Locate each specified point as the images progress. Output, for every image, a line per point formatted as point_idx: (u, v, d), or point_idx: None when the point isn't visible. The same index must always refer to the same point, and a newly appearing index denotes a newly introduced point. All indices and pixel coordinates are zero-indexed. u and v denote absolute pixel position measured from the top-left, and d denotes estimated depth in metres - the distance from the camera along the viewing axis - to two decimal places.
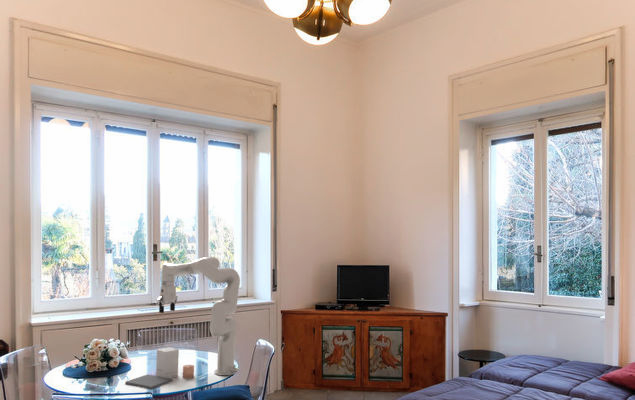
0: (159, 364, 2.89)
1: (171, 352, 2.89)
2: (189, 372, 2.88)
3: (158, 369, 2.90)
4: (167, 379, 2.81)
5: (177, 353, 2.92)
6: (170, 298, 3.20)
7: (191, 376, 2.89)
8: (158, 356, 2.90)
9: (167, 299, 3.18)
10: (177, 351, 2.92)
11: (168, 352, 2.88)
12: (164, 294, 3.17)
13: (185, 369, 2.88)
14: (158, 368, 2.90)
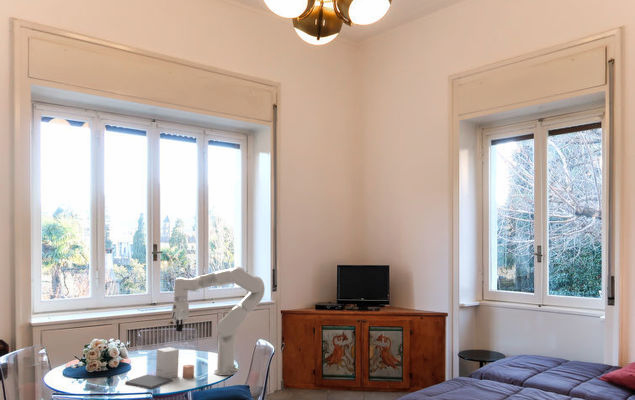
0: (159, 364, 2.89)
1: (171, 352, 2.89)
2: (189, 372, 2.88)
3: (158, 369, 2.90)
4: (167, 379, 2.81)
5: (177, 353, 2.92)
6: (183, 315, 3.00)
7: (191, 376, 2.89)
8: (158, 356, 2.90)
9: (180, 316, 2.98)
10: (177, 351, 2.92)
11: (168, 352, 2.88)
12: (177, 310, 2.97)
13: (185, 369, 2.88)
14: (158, 368, 2.90)
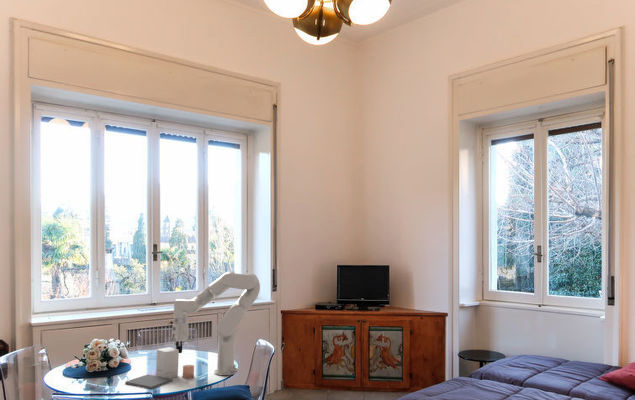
0: (159, 364, 2.89)
1: (171, 352, 2.89)
2: (189, 372, 2.88)
3: (158, 369, 2.90)
4: (167, 379, 2.81)
5: (177, 353, 2.92)
6: (182, 337, 2.99)
7: (191, 376, 2.89)
8: (158, 356, 2.90)
9: (179, 338, 2.97)
10: (177, 351, 2.92)
11: (168, 352, 2.88)
12: (176, 332, 2.96)
13: (185, 369, 2.88)
14: (158, 368, 2.90)
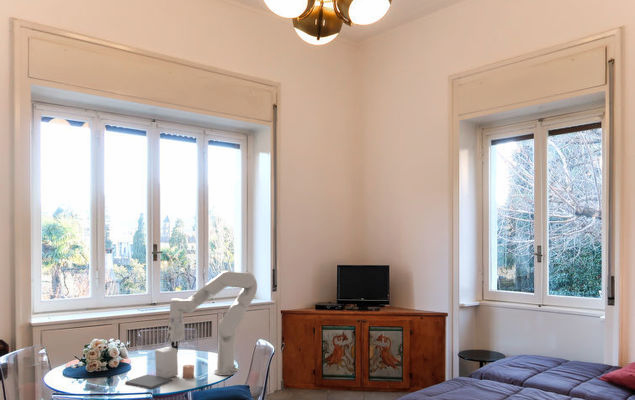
0: (158, 364, 2.89)
1: (169, 352, 2.88)
2: (189, 372, 2.88)
3: (157, 369, 2.90)
4: (167, 379, 2.81)
5: (176, 352, 2.91)
6: (178, 337, 2.97)
7: (191, 376, 2.89)
8: (157, 356, 2.90)
9: (175, 337, 2.94)
10: (175, 351, 2.91)
11: (166, 352, 2.87)
12: (172, 332, 2.93)
13: (185, 369, 2.88)
14: (157, 368, 2.89)
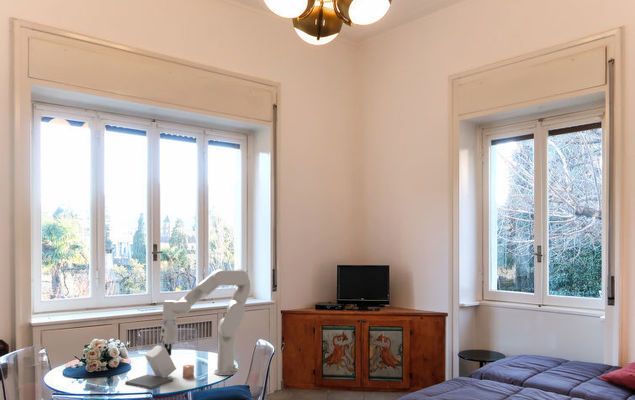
0: (153, 367, 2.86)
1: (159, 354, 2.83)
2: (189, 372, 2.88)
3: (154, 371, 2.88)
4: (167, 379, 2.81)
5: (165, 351, 2.86)
6: (171, 339, 2.91)
7: (191, 376, 2.89)
8: (149, 360, 2.86)
9: (168, 340, 2.89)
10: (165, 350, 2.86)
11: (156, 356, 2.82)
12: (165, 334, 2.88)
13: (185, 369, 2.88)
14: (154, 370, 2.88)
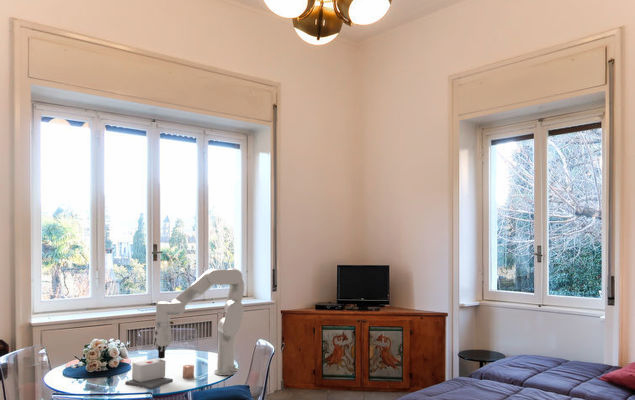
0: None
1: (142, 374, 2.76)
2: (189, 372, 2.88)
3: None
4: (167, 379, 2.81)
5: (144, 366, 2.77)
6: (165, 341, 2.86)
7: (191, 376, 2.89)
8: None
9: (162, 342, 2.84)
10: (142, 366, 2.76)
11: (141, 378, 2.75)
12: (158, 337, 2.83)
13: (185, 369, 2.88)
14: None
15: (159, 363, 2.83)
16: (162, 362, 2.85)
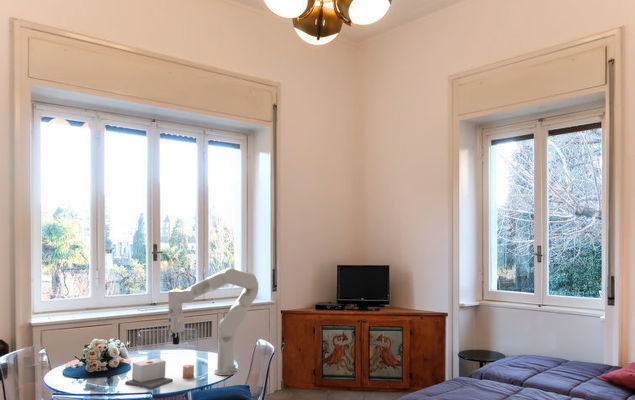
0: None
1: (142, 374, 2.75)
2: (189, 372, 2.88)
3: None
4: (167, 379, 2.81)
5: (144, 366, 2.77)
6: (178, 328, 2.96)
7: (191, 376, 2.89)
8: None
9: (175, 329, 2.93)
10: (142, 367, 2.76)
11: (141, 378, 2.75)
12: (172, 323, 2.92)
13: (185, 369, 2.88)
14: None
15: (159, 363, 2.83)
16: (162, 362, 2.85)
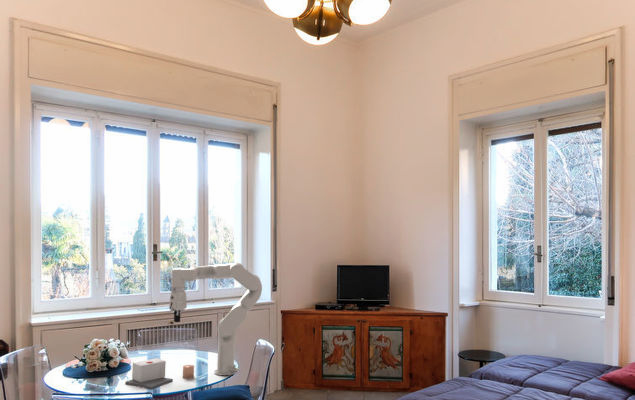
0: None
1: (142, 374, 2.75)
2: (189, 372, 2.88)
3: None
4: (167, 379, 2.81)
5: (144, 366, 2.77)
6: (180, 306, 2.98)
7: (191, 376, 2.89)
8: None
9: (177, 306, 2.96)
10: (142, 367, 2.76)
11: (141, 378, 2.75)
12: (174, 301, 2.95)
13: (185, 369, 2.88)
14: None
15: (159, 363, 2.83)
16: (162, 362, 2.85)
